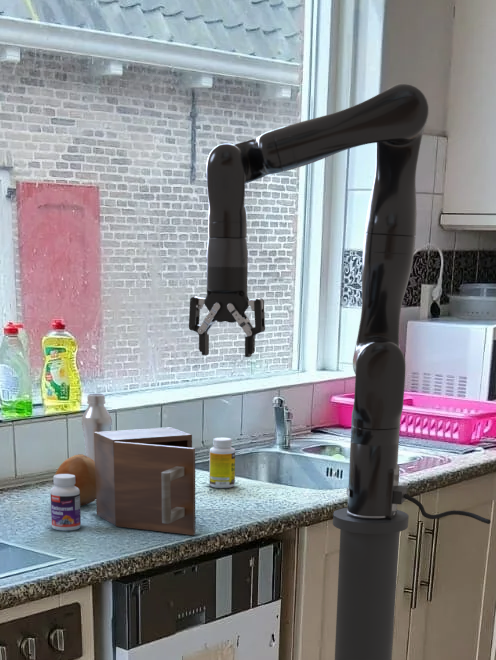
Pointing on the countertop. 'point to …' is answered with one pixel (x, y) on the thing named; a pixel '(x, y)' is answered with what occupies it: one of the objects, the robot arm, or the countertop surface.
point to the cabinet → (106, 460)
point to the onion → (81, 476)
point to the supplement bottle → (222, 463)
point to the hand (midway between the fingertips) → (226, 355)
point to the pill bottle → (65, 503)
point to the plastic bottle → (95, 421)
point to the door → (155, 487)
